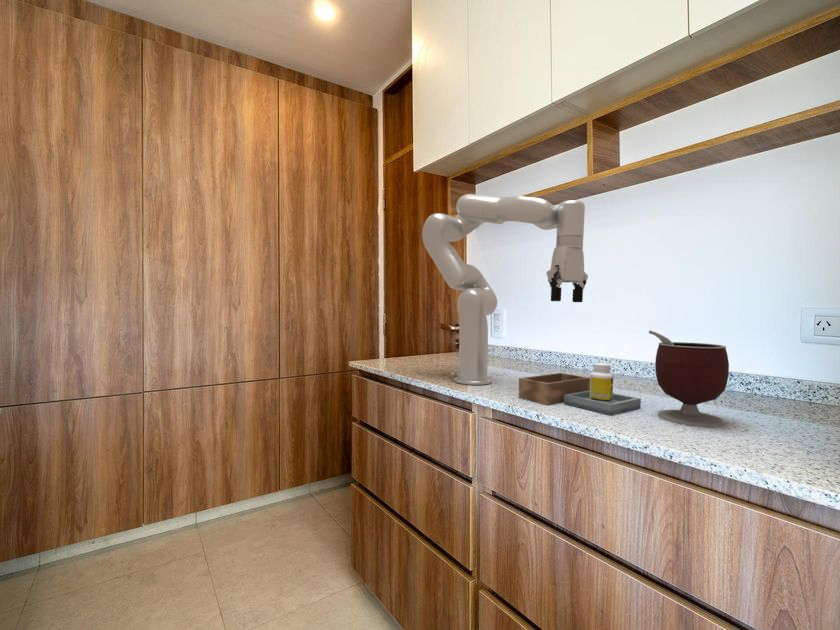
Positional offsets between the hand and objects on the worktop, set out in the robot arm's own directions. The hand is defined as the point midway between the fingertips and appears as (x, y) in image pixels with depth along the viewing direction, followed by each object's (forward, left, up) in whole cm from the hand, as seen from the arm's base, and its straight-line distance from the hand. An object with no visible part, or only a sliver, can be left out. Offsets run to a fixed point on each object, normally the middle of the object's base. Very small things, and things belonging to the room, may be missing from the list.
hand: (566, 301), depth 121 cm
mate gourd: (+33, -1, -27) cm, 43 cm away
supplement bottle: (+16, -7, -26) cm, 31 cm away
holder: (+3, -9, -27) cm, 29 cm away
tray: (+16, -7, -27) cm, 32 cm away
